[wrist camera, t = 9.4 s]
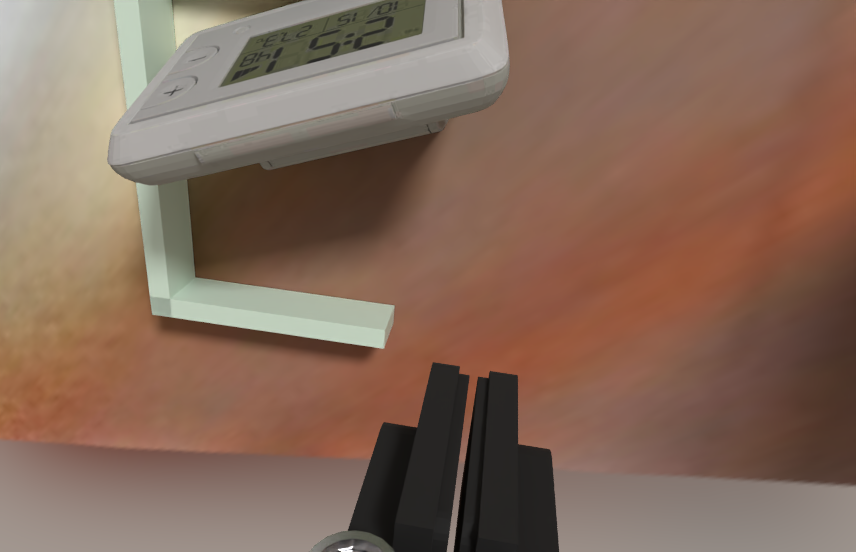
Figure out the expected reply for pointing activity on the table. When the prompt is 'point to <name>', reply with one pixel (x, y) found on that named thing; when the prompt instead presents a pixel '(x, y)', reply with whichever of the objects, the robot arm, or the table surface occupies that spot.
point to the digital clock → (312, 85)
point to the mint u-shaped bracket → (172, 238)
